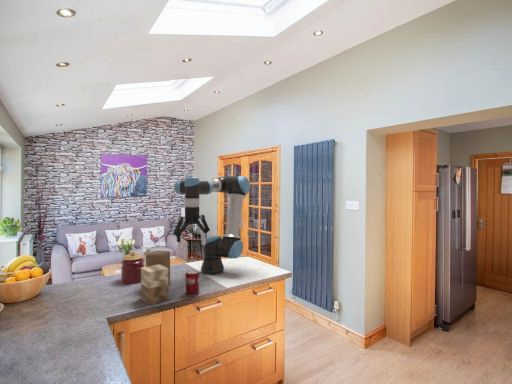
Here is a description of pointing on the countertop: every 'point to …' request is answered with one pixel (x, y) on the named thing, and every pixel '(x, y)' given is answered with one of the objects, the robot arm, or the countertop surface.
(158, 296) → the tower base
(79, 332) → the countertop surface
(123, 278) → the canister
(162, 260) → the block
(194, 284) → the soda can
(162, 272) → the tower top
